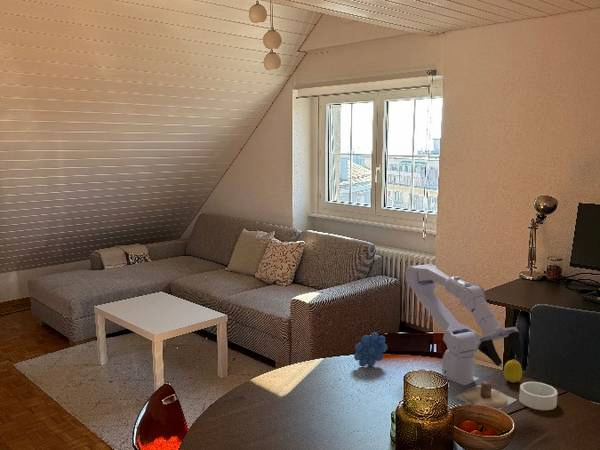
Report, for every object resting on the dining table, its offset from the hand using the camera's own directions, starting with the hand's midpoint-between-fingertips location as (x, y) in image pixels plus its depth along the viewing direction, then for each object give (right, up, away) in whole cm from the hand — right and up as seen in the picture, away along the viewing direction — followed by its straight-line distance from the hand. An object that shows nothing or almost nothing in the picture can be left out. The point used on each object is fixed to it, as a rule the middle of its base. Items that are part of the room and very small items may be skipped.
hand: (510, 361), depth 164 cm
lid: (-6, -12, +5) cm, 14 cm away
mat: (-6, -13, +5) cm, 15 cm away
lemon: (+7, -11, +17) cm, 21 cm away
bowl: (+9, -13, +3) cm, 16 cm away
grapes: (-37, -9, +30) cm, 49 cm away
